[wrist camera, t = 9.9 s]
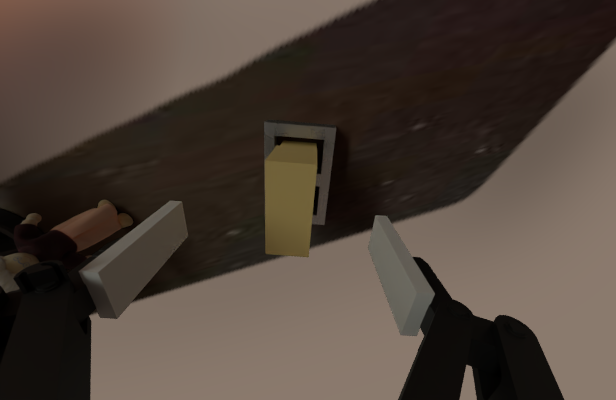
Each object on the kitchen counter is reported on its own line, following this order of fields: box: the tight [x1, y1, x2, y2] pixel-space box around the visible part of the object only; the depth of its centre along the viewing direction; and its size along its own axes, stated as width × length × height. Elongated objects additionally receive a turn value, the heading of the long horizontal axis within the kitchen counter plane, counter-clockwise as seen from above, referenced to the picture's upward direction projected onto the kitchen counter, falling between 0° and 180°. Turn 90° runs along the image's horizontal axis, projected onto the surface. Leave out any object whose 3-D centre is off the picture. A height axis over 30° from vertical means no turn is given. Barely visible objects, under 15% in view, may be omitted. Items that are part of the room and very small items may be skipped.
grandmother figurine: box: [0, 200, 133, 293], centre depth 24 cm, size 8×4×13 cm, turn 52°
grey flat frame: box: [264, 120, 336, 225], centre depth 25 cm, size 7×11×2 cm, turn 176°
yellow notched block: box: [265, 140, 317, 257], centre depth 22 cm, size 4×8×10 cm, turn 176°
